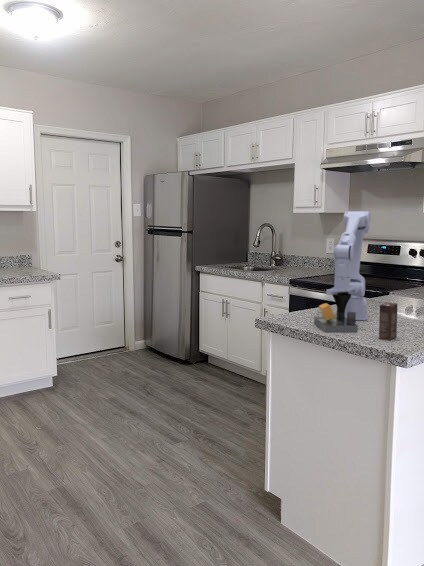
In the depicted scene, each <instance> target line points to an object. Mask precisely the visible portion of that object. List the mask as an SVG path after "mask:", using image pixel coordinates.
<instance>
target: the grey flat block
mask: <svg viewBox="0 0 424 566" xmlns="http://www.w3.org/2000/svg"><path fill="white" fill-rule="evenodd" d="M332 320H333V322H330V321H329V320H326V319H324V318H323V316H314V319H313V321H314V322H313V324H314V325H315V324H316V325H315V326H317V328H319V329H320V330H322V331H323V332H324V333H325V334H326V333H359V332H358V331H359V330H358V329H359V325H358V324H356V323H355V325H354V326H351V325H347V318H343V319H340V318H337V316H334V318H332Z"/></svg>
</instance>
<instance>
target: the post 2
mask: <svg viewBox="0 0 424 566" xmlns="http://www.w3.org/2000/svg"><path fill="white" fill-rule="evenodd" d="M356 321H357V320H356V313H355V312H347V325H351V326H354V325H355V324H356Z"/></svg>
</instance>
